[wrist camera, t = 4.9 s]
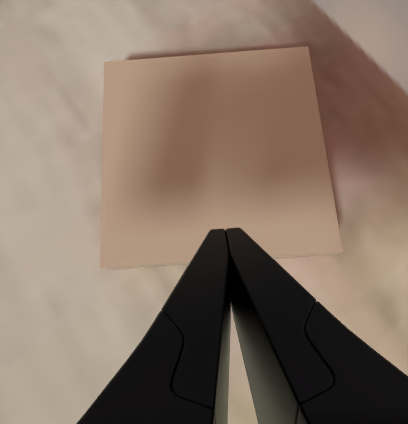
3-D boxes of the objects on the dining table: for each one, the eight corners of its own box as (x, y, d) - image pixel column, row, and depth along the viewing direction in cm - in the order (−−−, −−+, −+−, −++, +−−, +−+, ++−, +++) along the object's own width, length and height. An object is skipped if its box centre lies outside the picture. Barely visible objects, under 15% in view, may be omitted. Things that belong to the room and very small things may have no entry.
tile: (343, 251, 15) (308, 46, 18) (100, 267, 15) (104, 61, 18) (326, 256, 17) (297, 73, 20) (115, 269, 17) (116, 86, 20)
